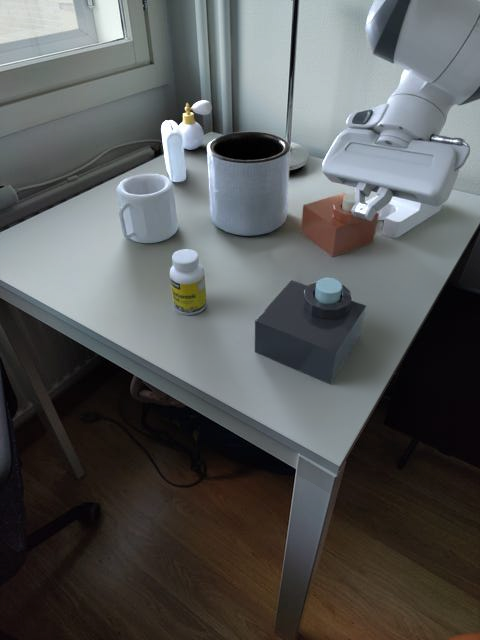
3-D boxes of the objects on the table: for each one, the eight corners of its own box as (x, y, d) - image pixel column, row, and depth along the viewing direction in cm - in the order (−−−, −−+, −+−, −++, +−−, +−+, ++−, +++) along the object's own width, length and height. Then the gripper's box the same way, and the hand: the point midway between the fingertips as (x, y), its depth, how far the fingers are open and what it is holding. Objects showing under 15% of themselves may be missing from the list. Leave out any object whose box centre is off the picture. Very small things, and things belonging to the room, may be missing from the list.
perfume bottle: (172, 146, 128) (167, 100, 120) (203, 139, 132) (199, 94, 124) (185, 155, 123) (181, 108, 115) (216, 147, 127) (214, 101, 119)
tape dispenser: (354, 221, 96) (363, 171, 89) (404, 194, 105) (415, 146, 97) (394, 239, 90) (406, 187, 83) (442, 208, 99) (457, 159, 92)
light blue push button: (344, 293, 66) (346, 282, 64) (334, 307, 63) (336, 296, 62) (321, 286, 67) (322, 274, 66) (310, 299, 65) (311, 287, 63)
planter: (303, 221, 96) (309, 147, 86) (241, 248, 89) (240, 170, 78) (254, 194, 106) (255, 124, 95) (196, 216, 98) (189, 143, 88)
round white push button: (364, 209, 84) (366, 199, 82) (350, 214, 83) (351, 204, 81) (352, 202, 86) (353, 192, 85) (338, 206, 85) (339, 196, 83)
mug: (146, 213, 100) (139, 168, 93) (188, 224, 96) (183, 178, 89) (105, 243, 91) (93, 196, 84) (149, 257, 87) (140, 208, 80)
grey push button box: (361, 334, 70) (370, 293, 65) (330, 384, 63) (337, 342, 58) (290, 308, 75) (293, 268, 70) (254, 352, 68) (254, 310, 62)
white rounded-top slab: (164, 166, 118) (158, 116, 110) (181, 164, 119) (176, 114, 111) (170, 183, 110) (164, 131, 102) (188, 181, 111) (183, 129, 103)
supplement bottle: (168, 311, 75) (160, 261, 68) (183, 292, 79) (177, 243, 72) (198, 319, 73) (193, 269, 67) (212, 299, 77) (208, 249, 71)
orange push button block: (376, 244, 89) (384, 206, 84) (335, 259, 85) (341, 221, 80) (340, 220, 96) (345, 184, 91) (300, 233, 93) (303, 196, 87)
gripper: (481, 153, 63) (432, 244, 63) (358, 135, 76) (318, 211, 77) (471, 126, 58) (417, 225, 59) (341, 112, 71) (299, 193, 72)
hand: (360, 217), depth 68 cm, fingers closed
